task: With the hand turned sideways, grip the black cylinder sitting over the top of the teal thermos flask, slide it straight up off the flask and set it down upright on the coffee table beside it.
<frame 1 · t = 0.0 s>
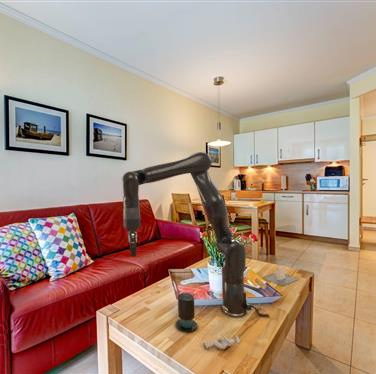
hand: (133, 253, 103), 29 cm above the table, tool pointing down, fingers open, 8 cm apart
black cylinder: (186, 315, 97), point 4 cm above the table, touching thermos
thermos: (186, 325, 97), on the table
soldier figure: (221, 348, 84), on the table
architectural model: (280, 279, 138), on the table
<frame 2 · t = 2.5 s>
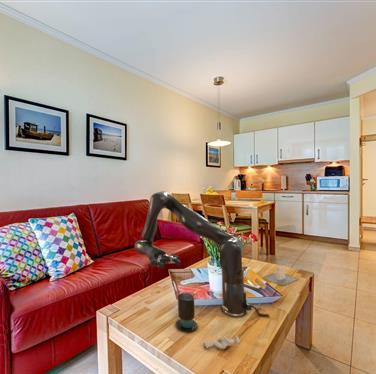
hand: (171, 265, 107), 22 cm above the table, tool horizontal, fingers open, 8 cm apart
nothing on the table moved.
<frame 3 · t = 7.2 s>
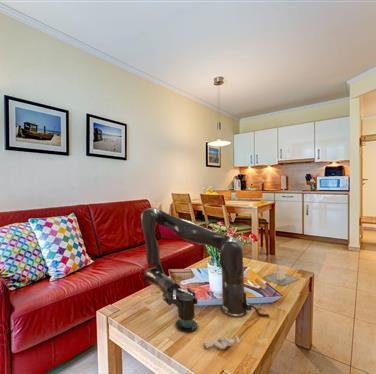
hand: (188, 304, 95), 10 cm above the table, tool horizontal, fingers closed on black cylinder, 7 cm apart
black cylinder: (186, 315, 97), point 4 cm above the table, touching gripper, thermos
everything else where it was.
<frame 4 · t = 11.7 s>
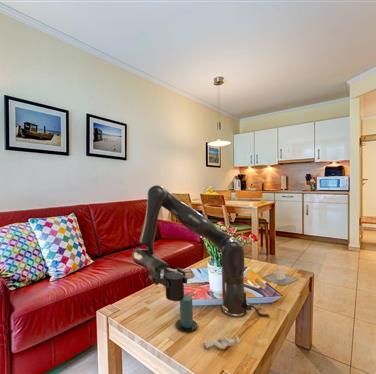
hand: (177, 283, 85), 24 cm above the table, tool horizontal, fingers closed on black cylinder, 7 cm apart
black cylinder: (174, 296, 87), point 18 cm above the table, touching gripper
everything else where it was.
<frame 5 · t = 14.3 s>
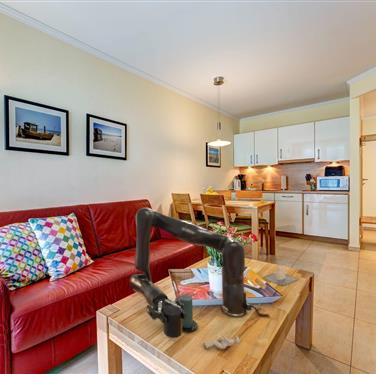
hand: (175, 319, 82), 12 cm above the table, tool horizontal, fingers closed on black cylinder, 7 cm apart
black cylinder: (172, 331, 85), point 6 cm above the table, touching gripper
everything else where it was.
when the fingers open (6 cm above the table, at t = 16.4 s): black cylinder stays where it is, on the table.
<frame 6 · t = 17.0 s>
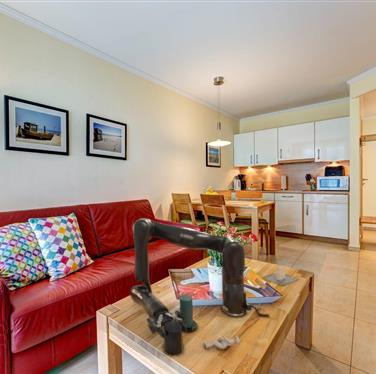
hand: (175, 332, 83), 7 cm above the table, tool horizontal, fingers open, 8 cm apart
black cylinder: (173, 348, 85), on the table
everything else where it was.
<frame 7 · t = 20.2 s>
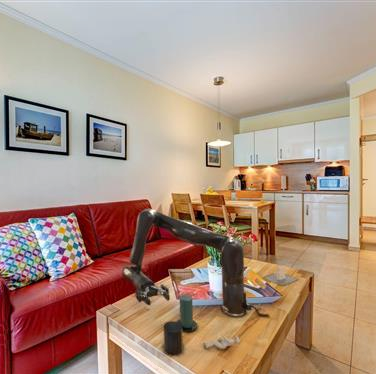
hand: (159, 300, 95), 12 cm above the table, tool horizontal, fingers open, 8 cm apart
nothing on the table moved.
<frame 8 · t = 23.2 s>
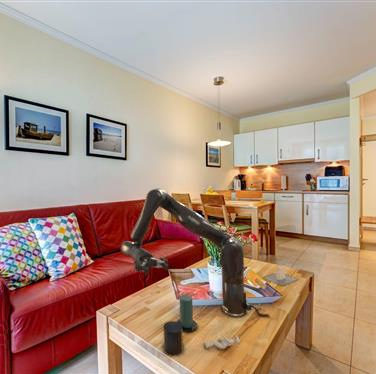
hand: (158, 269, 94), 25 cm above the table, tool horizontal, fingers open, 8 cm apart
nothing on the table moved.
at the end: black cylinder inside the target area (0.1 cm from its centre), on the table; black cylinder tilted 0°; the gripper is holding nothing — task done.
